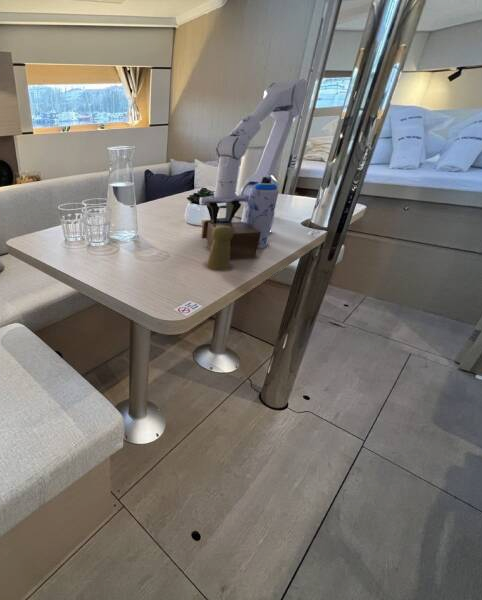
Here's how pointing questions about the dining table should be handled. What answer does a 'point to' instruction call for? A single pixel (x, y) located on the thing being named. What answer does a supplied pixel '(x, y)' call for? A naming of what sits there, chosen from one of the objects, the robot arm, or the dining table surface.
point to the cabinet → (239, 240)
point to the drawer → (205, 229)
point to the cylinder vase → (249, 170)
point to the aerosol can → (262, 208)
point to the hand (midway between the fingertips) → (220, 226)
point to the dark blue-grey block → (223, 220)
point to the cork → (220, 248)
